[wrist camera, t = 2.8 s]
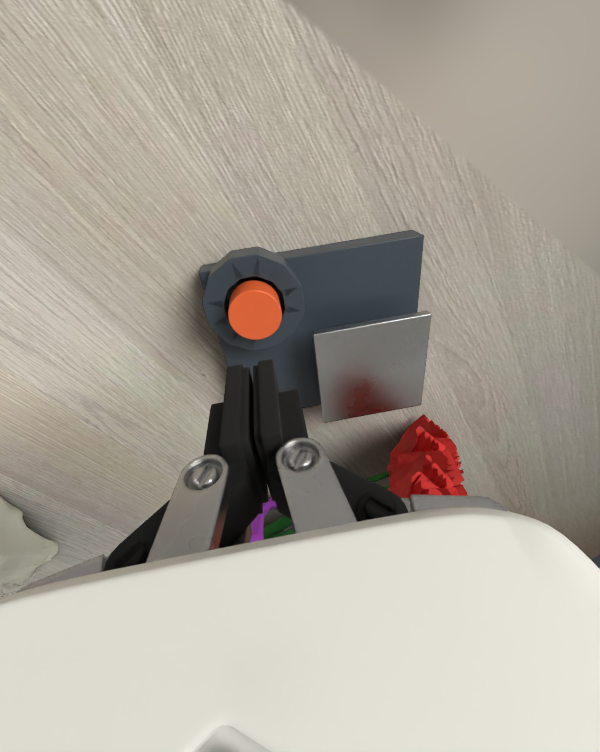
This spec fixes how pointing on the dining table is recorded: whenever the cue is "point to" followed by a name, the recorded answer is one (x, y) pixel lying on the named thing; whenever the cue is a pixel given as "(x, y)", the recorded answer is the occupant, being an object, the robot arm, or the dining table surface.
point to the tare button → (254, 310)
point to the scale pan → (371, 365)
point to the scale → (313, 298)
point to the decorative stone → (20, 547)
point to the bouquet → (399, 473)
